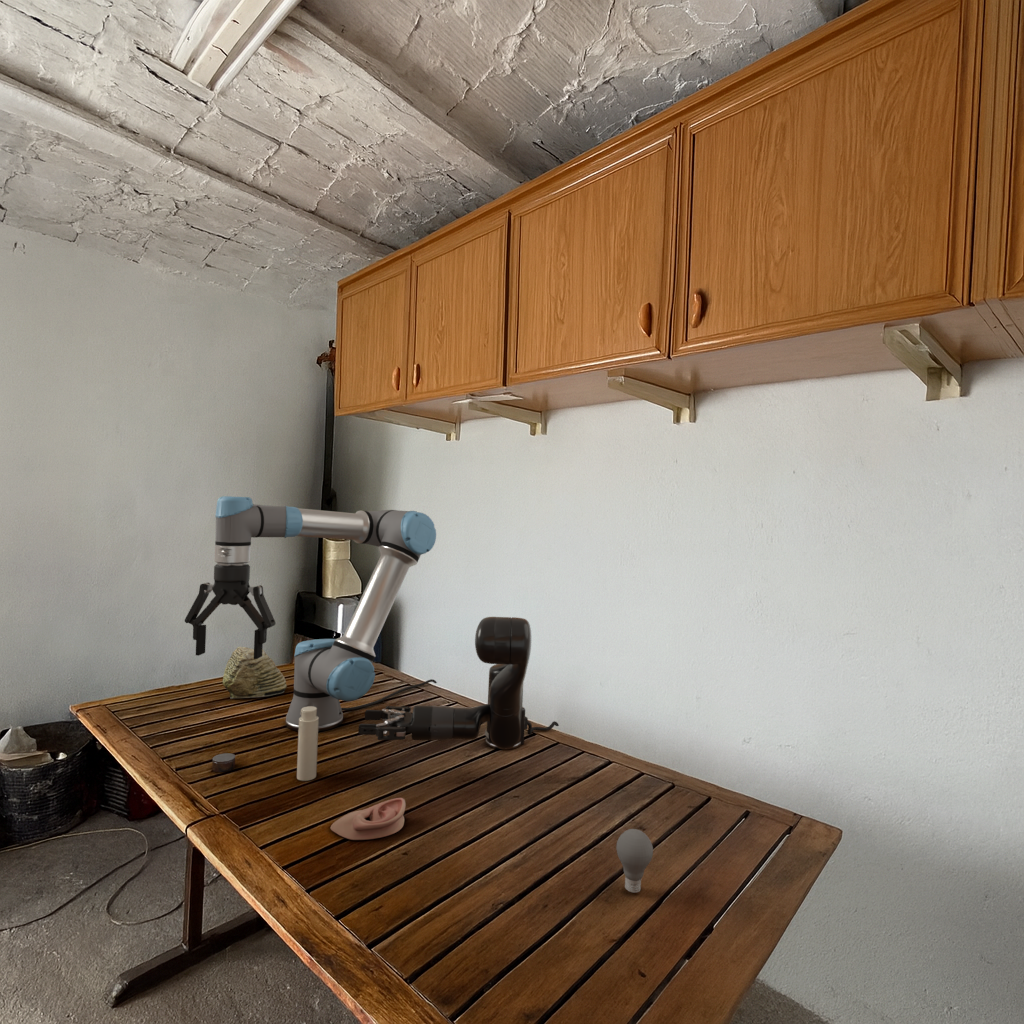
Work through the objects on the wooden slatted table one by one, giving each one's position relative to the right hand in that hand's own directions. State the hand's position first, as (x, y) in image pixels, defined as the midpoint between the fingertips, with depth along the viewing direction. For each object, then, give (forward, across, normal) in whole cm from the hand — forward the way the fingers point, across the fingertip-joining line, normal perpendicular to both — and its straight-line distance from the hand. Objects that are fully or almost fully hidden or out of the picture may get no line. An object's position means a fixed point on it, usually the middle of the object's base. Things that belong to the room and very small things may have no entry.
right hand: (361, 721), depth 144 cm
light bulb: (-52, +43, +12) cm, 68 cm away
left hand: (+31, -4, -13) cm, 34 cm away
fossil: (+42, -57, +14) cm, 72 cm away
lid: (+32, -4, +10) cm, 33 cm away
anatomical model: (-5, +22, +12) cm, 26 cm away
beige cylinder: (+12, +1, +12) cm, 17 cm away
